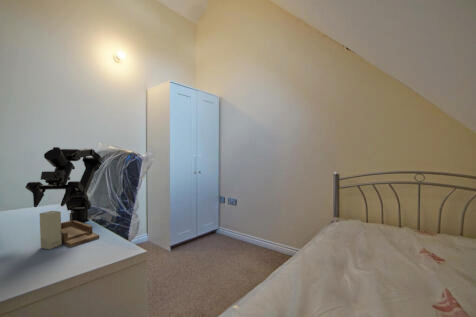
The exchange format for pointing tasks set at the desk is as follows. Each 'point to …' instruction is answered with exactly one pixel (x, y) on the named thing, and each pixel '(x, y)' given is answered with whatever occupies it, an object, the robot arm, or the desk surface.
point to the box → (50, 229)
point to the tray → (76, 233)
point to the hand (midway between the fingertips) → (48, 206)
